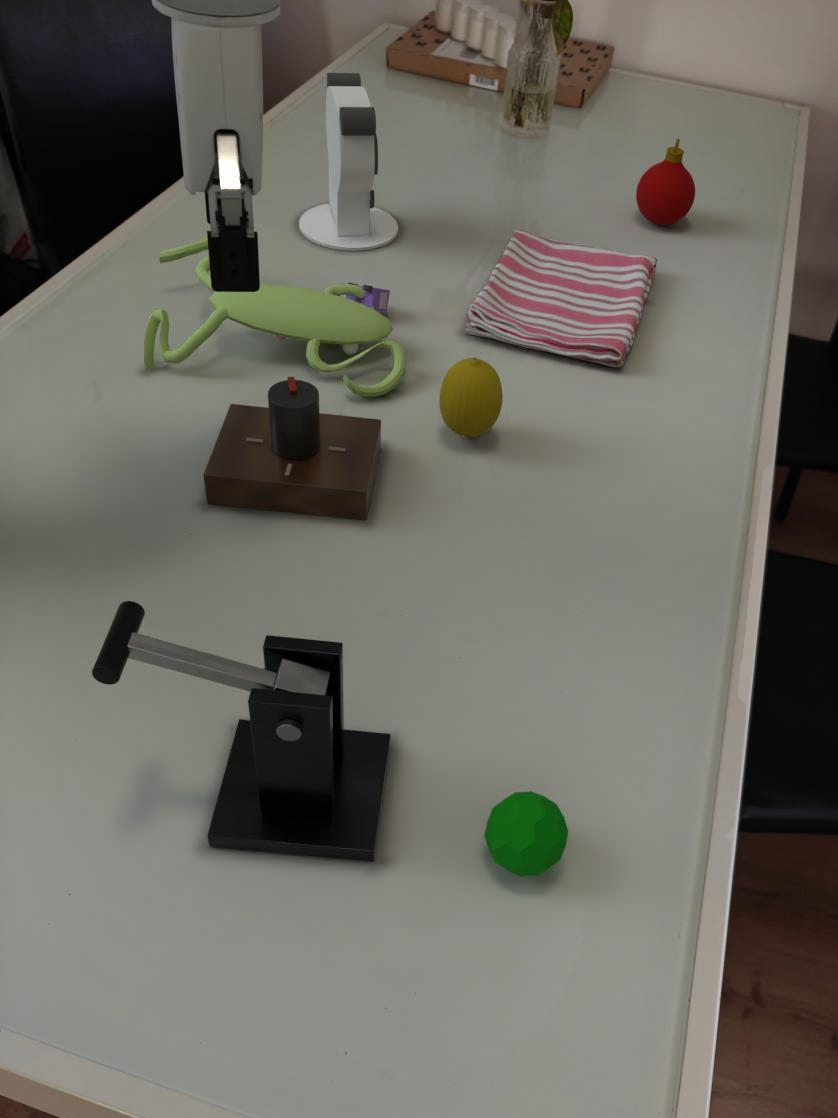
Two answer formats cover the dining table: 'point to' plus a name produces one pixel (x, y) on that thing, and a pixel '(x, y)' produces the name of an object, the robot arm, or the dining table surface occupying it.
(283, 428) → the valve knob
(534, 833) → the polyhedron
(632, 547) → the dining table surface
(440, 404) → the lemon
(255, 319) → the figurine
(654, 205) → the christmas ornament
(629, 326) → the dish towel
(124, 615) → the tap lever
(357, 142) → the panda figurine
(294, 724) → the black lever base
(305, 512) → the panel
